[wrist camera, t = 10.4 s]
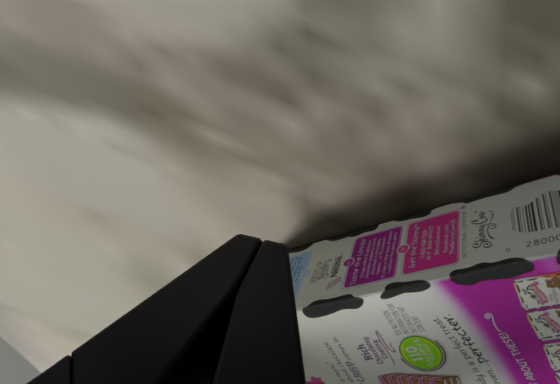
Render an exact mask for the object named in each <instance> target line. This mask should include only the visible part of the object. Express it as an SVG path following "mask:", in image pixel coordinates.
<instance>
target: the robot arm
mask: <svg viewBox="0 0 560 384" xmlns="http://www.w3.org/2000/svg"><path fill="white" fill-rule="evenodd" d="M27 384H306V378H305V371H304V363H303V356H302V348H301V341H300V333H299V326H298V318H297V311H296V303H295V296H294V288H293V281H292V273H291V265H290V258H289V250H288V247H287V245H285V244H282V243H278V242H273V241H269V240H265V241H263V242H262V240H261V239H259V238H256V237H252V236H247V235H243V234H239V235H236V236H235V237H233V238H232V239H230V240H229V241H227V242H226V243H225V244H223V245H222V246H220V247H219V248H218V249H216V250H215V251H213V252H212V253H211V254H209V255H208V256H206V257H205V258H204V259H202V260H201V261H199V262H198V263H197V264H195V265H194V266H192V267H191V268H190V269H188V270H187V271H185V272H184V273H182V274H181V275H180V276H178V277H177V278H175V279H174V280H173V281H171V282H170V283H168V284H167V285H166V286H164V287H163V288H161V289H160V290H159V291H157V292H156V293H154V294H153V295H152V296H150V297H149V298H147V299H146V300H145V301H143V302H142V303H140V304H139V305H137V306H136V307H135V308H133V309H132V310H130V311H129V312H128V313H126V314H125V315H123V316H122V317H121V318H119V319H118V320H116V321H115V322H114V323H112V324H111V325H109V326H108V327H107V328H105V329H104V330H102V331H101V332H100V333H98V334H97V335H95V336H94V337H92V338H91V339H90V340H88V341H87V342H85V343H84V344H83V345H81V346H80V347H78V348H77V349H76V350H74V351H73V352H72V354H71V356H69V355H67V356H65V357H64V358H63V359H61V360H60V361H58V362H57V363H56V364H54V365H53V366H51V367H50V368H49V369H47V370H46V371H44V372H43V373H41V374H40V375H39V376H37V377H35V378H34V379H32V380H31V381H30V382H28V383H27Z"/></svg>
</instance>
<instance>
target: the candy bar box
mask: <svg viewBox="0 0 560 384" xmlns="http://www.w3.org/2000/svg"><path fill="white" fill-rule="evenodd" d="M289 258H290V265H291V273H292V281H293V288H294V296H295V303H296V311H297V318H298V326H299V333H300V341H301V348H302V356H303V363H304V371H305V378H306V384H560V173H558V174H554V175H551V176H547V177H544V178H540V179H537V180H534V181H530V182H527V183H523V184H520V185H516V186H513V187H509V188H506V189H502V190H498V191H495V192H491V193H488V194H485V195H481V196H478V197H474V198H471V199H468V200H465V201H461V202H458V203H452V204H449V205H445V206H442V207H438V208H435V209H432V210H429V211H425V212H422V213H418V214H415V215H412V216H408V217H405V218H402V219H399V220H393V221H390V222H386V223H383V224H379V225H376V226H372V227H369V228H365V229H362V230H358V231H354V232H351V233H348V234H344V235H341V236H337V237H334V238H331V239H327V240H323V241H320V242H316V243H312V244H309V245H306V246H302V247H299V248H295V249H292V250H289Z"/></svg>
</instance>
